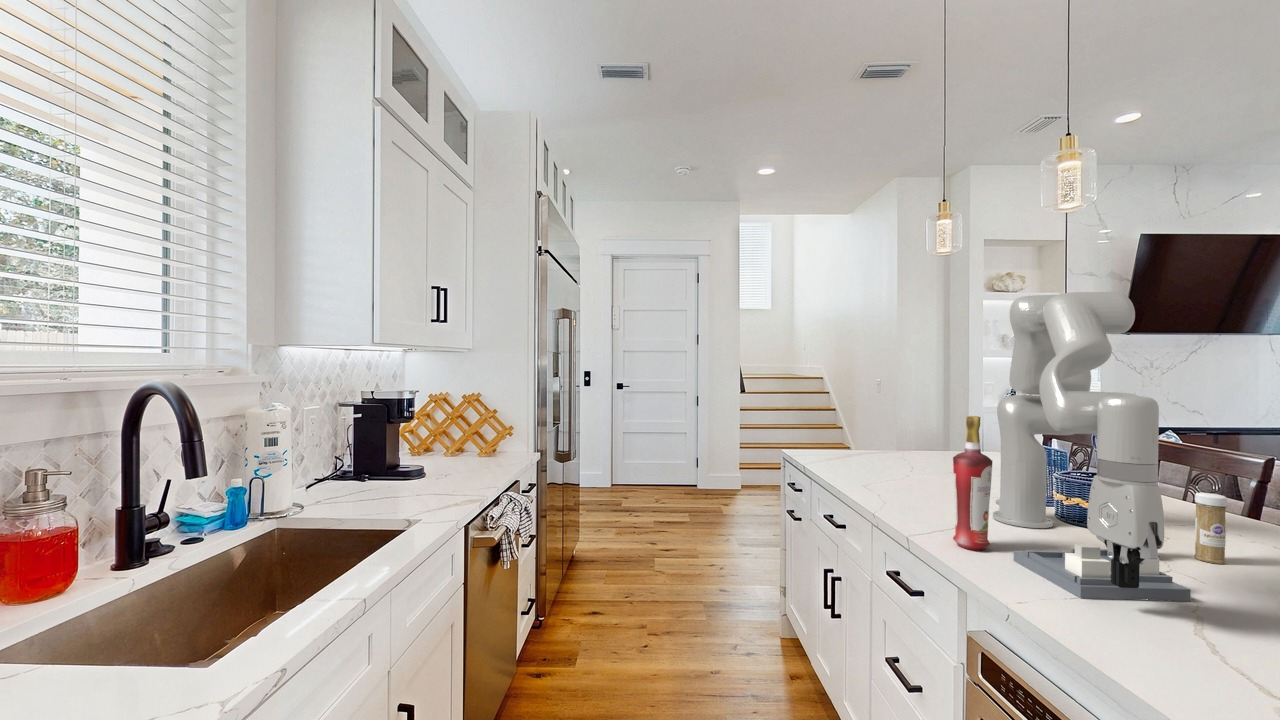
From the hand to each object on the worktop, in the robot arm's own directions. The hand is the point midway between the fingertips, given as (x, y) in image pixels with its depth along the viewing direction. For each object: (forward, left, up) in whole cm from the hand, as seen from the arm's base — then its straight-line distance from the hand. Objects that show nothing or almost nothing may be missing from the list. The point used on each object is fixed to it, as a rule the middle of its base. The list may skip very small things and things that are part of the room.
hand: (1124, 585), depth 91 cm
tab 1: (-8, 0, -2) cm, 8 cm away
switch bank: (-13, +5, -4) cm, 14 cm away
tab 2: (-10, +10, -2) cm, 14 cm away
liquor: (-30, -8, -4) cm, 31 cm away
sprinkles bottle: (-25, +37, -4) cm, 45 cm away
